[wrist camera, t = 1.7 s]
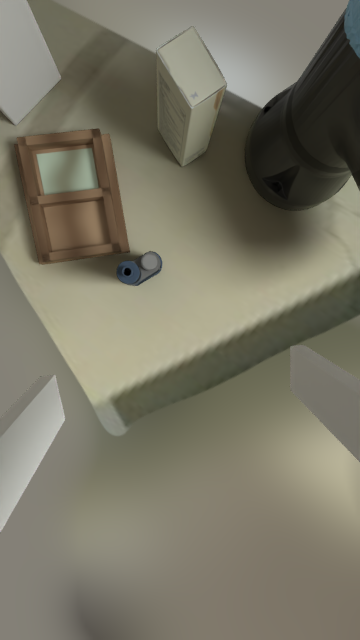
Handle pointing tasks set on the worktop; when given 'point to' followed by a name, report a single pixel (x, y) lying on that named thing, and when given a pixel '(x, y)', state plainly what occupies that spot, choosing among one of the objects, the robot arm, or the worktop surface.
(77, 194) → the divided wooden tray
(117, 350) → the worktop surface
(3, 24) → the soap bottle
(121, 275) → the vaping device
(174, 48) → the skincare box
